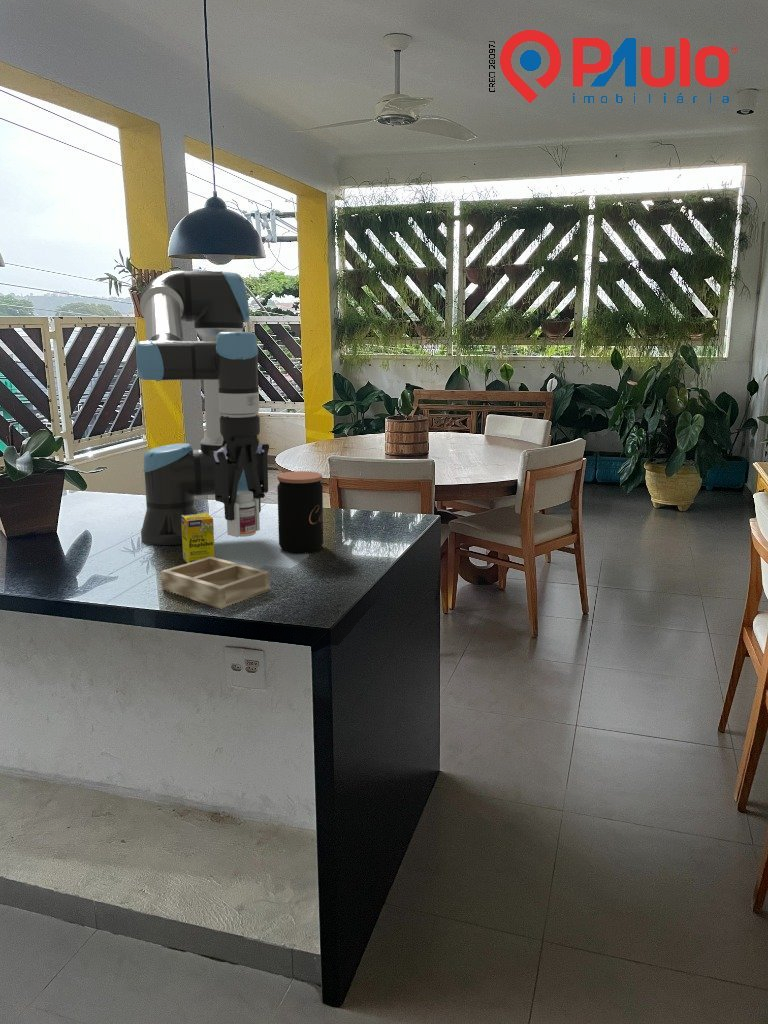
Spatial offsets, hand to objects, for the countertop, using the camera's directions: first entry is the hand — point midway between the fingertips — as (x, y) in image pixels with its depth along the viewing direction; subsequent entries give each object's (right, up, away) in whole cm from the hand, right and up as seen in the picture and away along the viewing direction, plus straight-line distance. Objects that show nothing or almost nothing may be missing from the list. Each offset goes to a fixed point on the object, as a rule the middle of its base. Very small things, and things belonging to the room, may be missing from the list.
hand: (243, 532), depth 151 cm
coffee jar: (+8, -5, +34) cm, 35 cm away
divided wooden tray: (-6, -12, +4) cm, 14 cm away
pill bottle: (0, -1, 0) cm, 1 cm away
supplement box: (-14, -8, +21) cm, 27 cm away
